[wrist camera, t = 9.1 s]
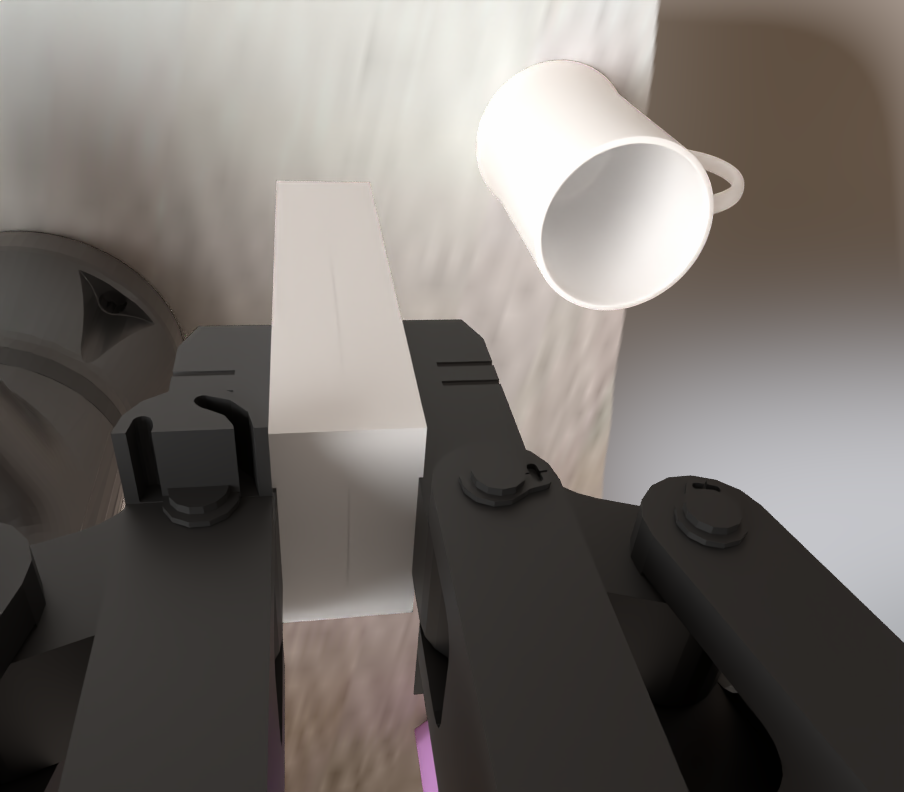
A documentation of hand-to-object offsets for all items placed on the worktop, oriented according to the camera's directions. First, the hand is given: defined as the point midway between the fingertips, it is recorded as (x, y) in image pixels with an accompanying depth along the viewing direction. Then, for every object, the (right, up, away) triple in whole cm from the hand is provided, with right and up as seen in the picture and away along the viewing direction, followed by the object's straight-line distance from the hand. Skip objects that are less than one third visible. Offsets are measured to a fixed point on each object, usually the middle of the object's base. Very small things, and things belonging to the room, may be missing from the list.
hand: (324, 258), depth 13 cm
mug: (+9, +12, +30) cm, 34 cm away
